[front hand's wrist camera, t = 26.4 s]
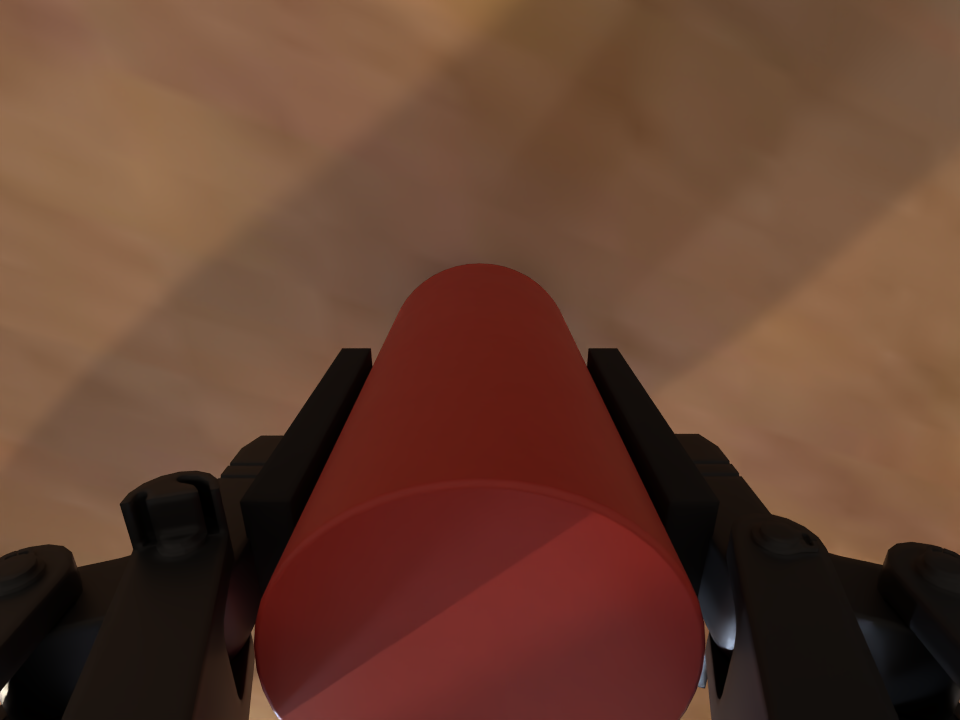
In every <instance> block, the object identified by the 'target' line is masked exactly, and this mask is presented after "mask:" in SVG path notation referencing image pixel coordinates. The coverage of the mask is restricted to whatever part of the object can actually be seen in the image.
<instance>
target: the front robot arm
mask: <svg viewBox="0 0 960 720" xmlns="http://www.w3.org/2000/svg"><path fill="white" fill-rule="evenodd" d="M587 368H588V370H589V372H590V375H591V377H592V379H593V381H594V383H595V385H596V387H597V389H598V391H599V393H600V395H601V397H602V399H603V402H604V404H605V406H606V408H607V410H608V412H609V414H610V416H611V418H612V420H613V422H614V424H615V426H616V428H617V431H618V433H619V435H620V437H621V439H622V441H623V443H624V445H625V447H626V449H627V451H628V453H629V455H630V458H631V460H632V462H633V464H634V466H635V468H636V470H637V472H638V474H639V476H640V478H641V480H642V482H643V484H644V487H645V489H646V491H647V493H648V495H649V497H650V499H651V501H652V503H653V505H654V507H655V509H656V511H657V514H658V516H659V518H660V520H661V522H662V524H663V526H664V528H665V530H666V532H667V534H668V536H669V538H670V540H671V543H672V545H673V547H674V549H675V551H676V553H677V555H678V557H679V559H680V561H681V563H682V565H683V567H684V570H685V572H686V574H687V576H688V578H689V580H690V582H691V584H692V587H693V589H694V591H695V593H696V596H697V598H698V600H699V604H700V608H701V612H702V616H703V619H704V621H705V623H706V625H707V627H708V630H709V635H708V639H707V644H706V649H705V654H704V662H703V670H702V674H701V677H700V680H699V683H698V687H701V688H705V686H706V682H707V679H708V689H709V699H710V709H711V719H712V720H960V703H959V700H960V555H958V554H957V553H955V552H953V551H950V550H947V549H945V548H944V549H943V548H941V547H938V546H934V545H929V544H922V543H916V542H907V543H898V544H896V545H894V546H893V547H891V548H890V549H889V550H888V552H887V555H886V558H885V561H884V563H883V565H880V564H875V563H870V562H866V561H861V560H856V559H852V558H847V557H842V556H838V555H834V554H831V553H828V551H827V549H826V547H825V546H824V544H823V543H822V542H821V540H820V539H819V538H818V537H817V536H816V535H815V534H813V533H812V532H811V531H809V530H808V529H807V528H806V527H804V526H802V525H800V524H798V523H796V522H794V521H791V520H789V519H787V518H783V517H780V516H776V515H772V514H771V513H770V512H769V511H768V510H767V508H766V507H765V506H764V504H763V503H762V502H761V501H760V499H759V498H758V497H757V496H756V494H755V493H754V492H753V490H752V489H751V488H750V487H749V485H748V484H747V483H746V482H745V480H744V479H743V478H742V476H739V473H738V471H737V470H736V469H735V468H734V466H733V465H732V464H730V463H729V460H728V459H727V457H726V456H725V455H724V454H723V452H722V451H721V450H720V448H719V447H718V446H716V445H715V444H713V443H712V442H710V441H709V440H707V439H706V438H704V437H702V436H701V435H699V434H674V433H673V431H672V430H671V428H670V427H669V425H668V424H667V422H666V421H665V419H664V418H663V416H662V415H661V413H660V412H659V410H658V409H657V407H656V406H655V404H654V403H653V401H652V400H651V398H650V397H649V395H648V394H647V392H646V391H645V389H644V388H643V386H642V385H641V383H640V382H639V380H638V379H637V377H636V376H635V374H634V373H633V371H632V370H631V368H630V367H629V365H628V364H627V362H626V361H625V359H624V358H623V356H622V355H621V353H620V352H619V350H618V349H617V348H589V350H588V362H587ZM371 369H372V357H371V348H342V350H341V351H340V353H339V354H338V356H337V357H336V358H335V360H334V361H333V363H332V364H331V366H330V367H329V369H328V370H327V372H326V373H325V375H324V376H323V378H322V379H321V381H320V382H319V384H318V385H317V387H316V388H315V390H314V391H313V393H312V394H311V396H310V397H309V399H308V400H307V402H306V403H305V405H304V406H303V408H302V409H301V411H300V412H299V414H298V415H297V417H296V418H295V420H294V421H293V423H292V424H291V426H290V427H289V429H288V430H287V432H286V433H285V435H284V436H260V437H258V438H257V439H255V440H254V441H252V442H251V443H249V444H248V445H246V446H244V447H243V448H242V449H241V450H240V451H239V452H238V454H237V455H236V456H235V458H234V459H233V460H232V461H231V463H230V466H228V467H227V468H226V469H225V470H224V472H223V473H222V474H221V478H218V479H216V478H215V477H214V476H213V475H211V474H210V473H205V472H200V471H185V472H177V473H172V474H168V475H164V476H160V477H158V478H156V479H153V480H151V481H148V482H146V483H144V484H142V485H141V486H139V487H138V488H136V489H135V490H133V491H132V492H130V493H129V494H128V495H127V496H126V497H125V498H124V500H123V501H122V502H121V503H120V507H121V510H122V513H123V517H124V520H125V523H126V526H127V530H128V533H129V536H130V540H131V543H132V546H133V552H132V554H131V555H130V556H126V557H123V558H119V559H114V560H110V561H105V562H100V563H96V564H91V565H86V566H82V567H77V565H76V563H75V560H74V557H73V554H72V552H71V551H69V550H68V549H67V548H65V547H64V546H58V545H49V544H47V545H41V546H34V547H28V548H24V549H20V550H19V551H14V552H11V553H9V554H6V555H4V556H2V557H1V558H0V702H1V705H0V720H249V710H250V700H251V690H252V680H253V670H254V660H255V652H254V644H253V639H252V635H251V631H252V629H253V627H254V625H255V621H256V617H257V613H258V609H259V605H260V601H261V599H262V596H263V594H264V592H265V590H266V588H267V585H268V583H269V581H270V579H271V577H272V575H273V573H274V570H275V568H276V566H277V564H278V562H279V560H280V558H281V556H282V554H283V552H284V550H285V548H286V546H287V543H288V541H289V539H290V537H291V535H292V533H293V531H294V529H295V527H296V525H297V523H298V521H299V519H300V516H301V514H302V512H303V510H304V508H305V506H306V504H307V502H308V500H309V498H310V496H311V494H312V492H313V489H314V487H315V485H316V483H317V481H318V479H319V477H320V475H321V473H322V471H323V469H324V467H325V465H326V462H327V460H328V458H329V456H330V454H331V452H332V450H333V448H334V446H335V444H336V442H337V440H338V438H339V435H340V433H341V431H342V429H343V427H344V425H345V423H346V421H347V419H348V417H349V415H350V413H351V411H352V409H353V406H354V404H355V402H356V400H357V398H358V396H359V394H360V392H361V390H362V388H363V386H364V384H365V382H366V379H367V377H368V375H369V373H370V371H371Z"/></svg>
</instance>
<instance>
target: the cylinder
mask: <svg viewBox="0 0 960 720" xmlns="http://www.w3.org/2000/svg"><path fill="white" fill-rule="evenodd" d="M254 652H255V660H256V668H257V673H258V676H259V679H260V682H261V686H262V689H263V691H264V693H265V695H266V697H267V699H268V702H269V704H270V706H271V708H272V710H273V711H274V712H275V714H276V715H277V717H278V718H279V720H680V718H681V717H682V716H683V714H684V713H685V711H686V710H687V708H688V706H689V704H690V702H691V700H692V698H693V696H694V694H695V692H696V690H697V686H698V683H699V680H700V677H701V674H702V670H703V662H704V654H705V630H704V620H703V616H702V612H701V608H700V604H699V600H698V598H697V596H696V593H695V591H694V589H693V587H692V584H691V582H690V580H689V578H688V576H687V574H686V572H685V570H684V567H683V565H682V563H681V561H680V559H679V557H678V555H677V553H676V551H675V549H674V547H673V545H672V543H671V540H670V538H669V536H668V534H667V532H666V530H665V528H664V526H663V524H662V522H661V520H660V518H659V516H658V514H657V511H656V509H655V507H654V505H653V503H652V501H651V499H650V497H649V495H648V493H647V491H646V489H645V487H644V484H643V482H642V480H641V478H640V476H639V474H638V472H637V470H636V468H635V466H634V464H633V462H632V460H631V458H630V455H629V453H628V451H627V449H626V447H625V445H624V443H623V441H622V439H621V437H620V435H619V433H618V431H617V428H616V426H615V424H614V422H613V420H612V418H611V416H610V414H609V412H608V410H607V408H606V406H605V404H604V402H603V399H602V397H601V395H600V393H599V391H598V389H597V387H596V385H595V383H594V381H593V379H592V377H591V375H590V372H589V370H588V368H587V366H586V364H585V362H584V360H583V358H582V356H581V354H580V352H579V350H578V348H577V345H576V343H575V341H574V339H573V337H572V335H571V333H570V331H569V329H568V327H567V325H566V323H565V321H564V319H563V316H562V314H561V312H560V310H559V308H558V307H557V305H556V304H555V302H554V300H553V299H552V298H551V297H550V296H549V294H548V293H547V292H546V291H545V290H544V289H543V288H542V287H541V286H540V285H539V284H537V283H536V282H535V281H533V280H532V279H530V278H529V277H527V276H526V275H524V274H522V273H520V272H517V271H515V270H512V269H509V268H507V267H503V266H498V265H493V264H480V263H479V264H466V265H461V266H456V267H453V268H450V269H447V270H444V271H442V272H440V273H438V274H436V275H434V276H432V277H431V278H429V279H428V280H426V281H425V282H423V283H422V284H421V285H420V286H419V287H417V288H416V289H415V290H414V291H413V292H412V294H411V295H410V296H409V297H408V298H407V299H406V301H405V303H404V304H403V306H402V307H401V309H400V311H399V313H398V315H397V317H396V319H395V321H394V323H393V325H392V328H391V330H390V332H389V334H388V336H387V338H386V340H385V342H384V344H383V346H382V348H381V350H380V352H379V355H378V357H377V359H376V361H375V363H374V365H373V367H372V369H371V371H370V373H369V375H368V377H367V379H366V382H365V384H364V386H363V388H362V390H361V392H360V394H359V396H358V398H357V400H356V402H355V404H354V406H353V409H352V411H351V413H350V415H349V417H348V419H347V421H346V423H345V425H344V427H343V429H342V431H341V433H340V435H339V438H338V440H337V442H336V444H335V446H334V448H333V450H332V452H331V454H330V456H329V458H328V460H327V462H326V465H325V467H324V469H323V471H322V473H321V475H320V477H319V479H318V481H317V483H316V485H315V487H314V489H313V492H312V494H311V496H310V498H309V500H308V502H307V504H306V506H305V508H304V510H303V512H302V514H301V516H300V519H299V521H298V523H297V525H296V527H295V529H294V531H293V533H292V535H291V537H290V539H289V541H288V543H287V546H286V548H285V550H284V552H283V554H282V556H281V558H280V560H279V562H278V564H277V566H276V568H275V570H274V573H273V575H272V577H271V579H270V581H269V583H268V585H267V588H266V590H265V592H264V594H263V596H262V599H261V601H260V605H259V609H258V613H257V617H256V621H255V636H254Z"/></svg>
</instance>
